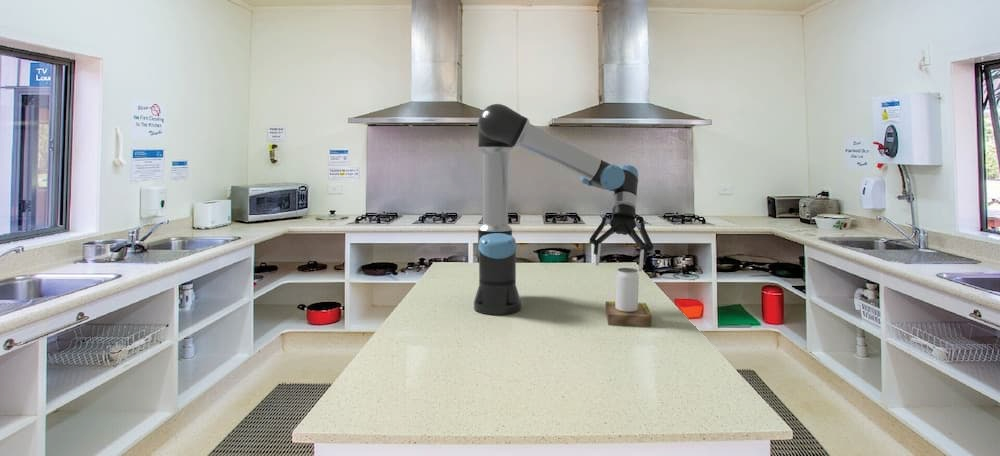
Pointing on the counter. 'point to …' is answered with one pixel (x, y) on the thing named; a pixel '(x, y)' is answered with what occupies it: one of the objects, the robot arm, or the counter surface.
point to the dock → (628, 315)
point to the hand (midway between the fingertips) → (618, 266)
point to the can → (627, 290)
